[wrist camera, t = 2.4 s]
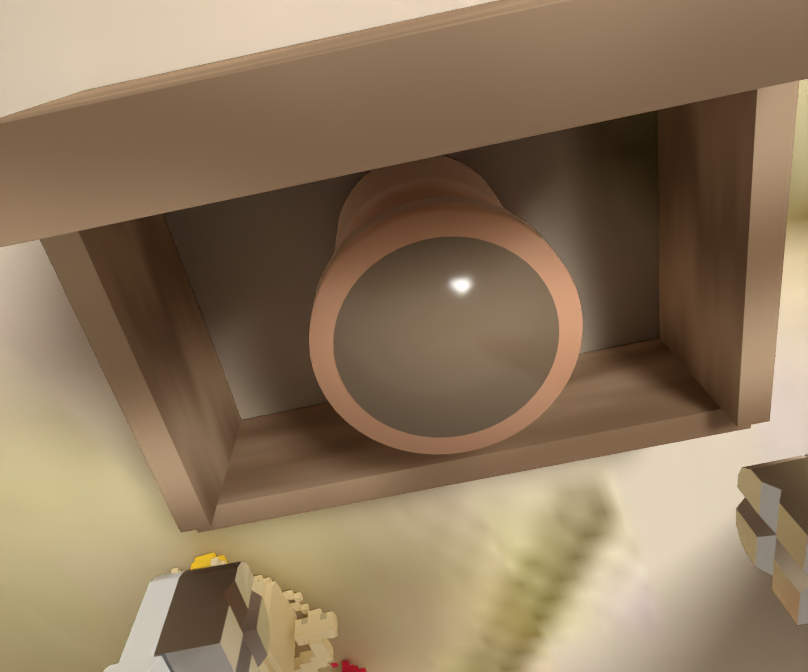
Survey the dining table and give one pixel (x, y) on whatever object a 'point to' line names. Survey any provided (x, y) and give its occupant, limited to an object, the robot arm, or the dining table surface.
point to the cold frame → (404, 142)
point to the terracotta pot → (440, 313)
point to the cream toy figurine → (289, 626)
